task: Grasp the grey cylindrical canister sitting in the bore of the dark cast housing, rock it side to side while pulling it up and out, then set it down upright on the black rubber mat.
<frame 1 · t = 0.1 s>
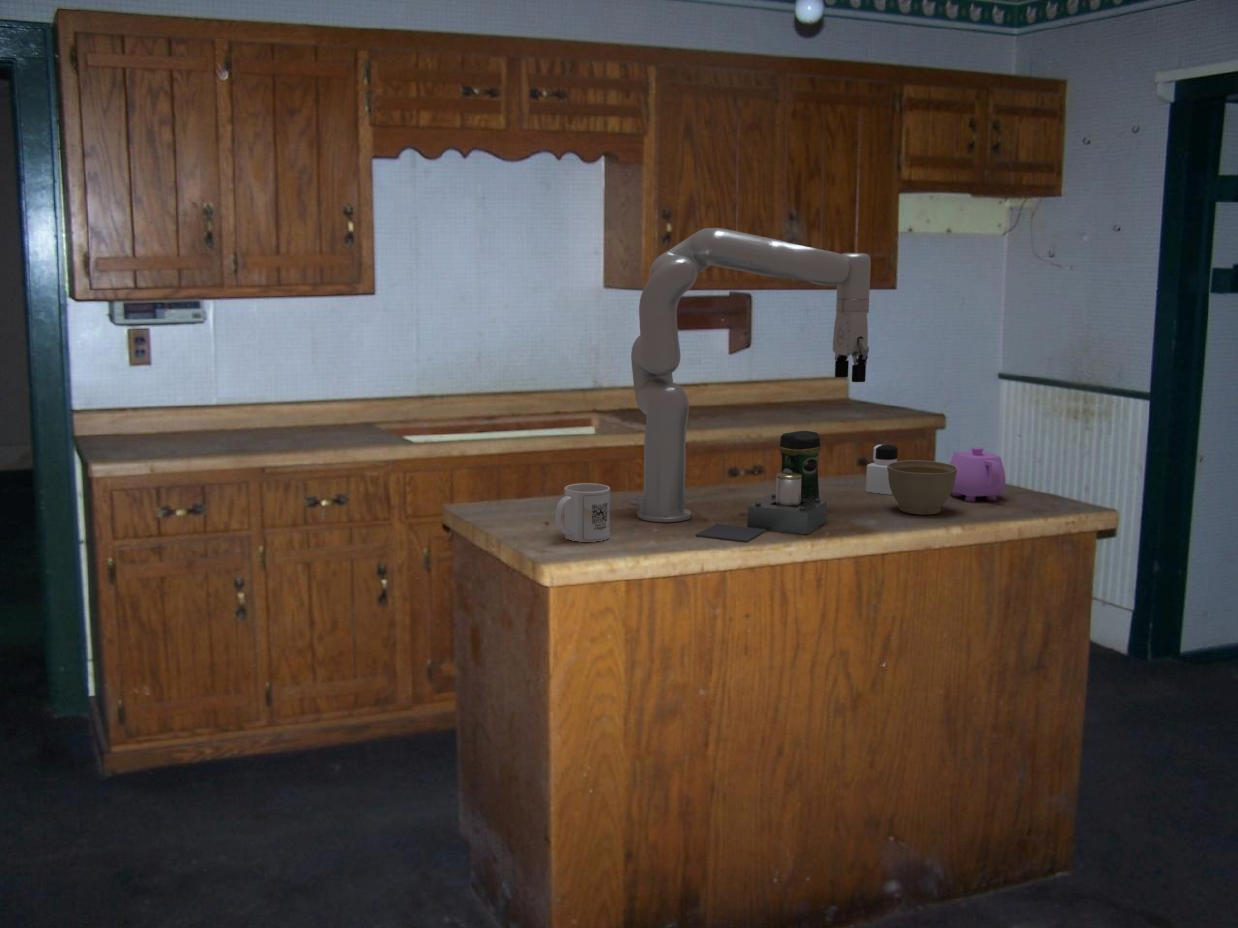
hand: (849, 379, 302), 31 cm above the worktop, tool pointing down, fingers open, 9 cm apart
coffee jar: (798, 508, 309), on the worktop
planter bowl: (919, 512, 306), on the worktop
mug: (582, 538, 277), on the worktop
grey cylindrical canister: (787, 524, 291), resting in housing
housing: (787, 524, 291), on the worktop
rubber mat: (731, 533, 282), on the worktop
teapot: (974, 497, 323), on the worktop
medicine bottle: (883, 492, 329), on the worktop
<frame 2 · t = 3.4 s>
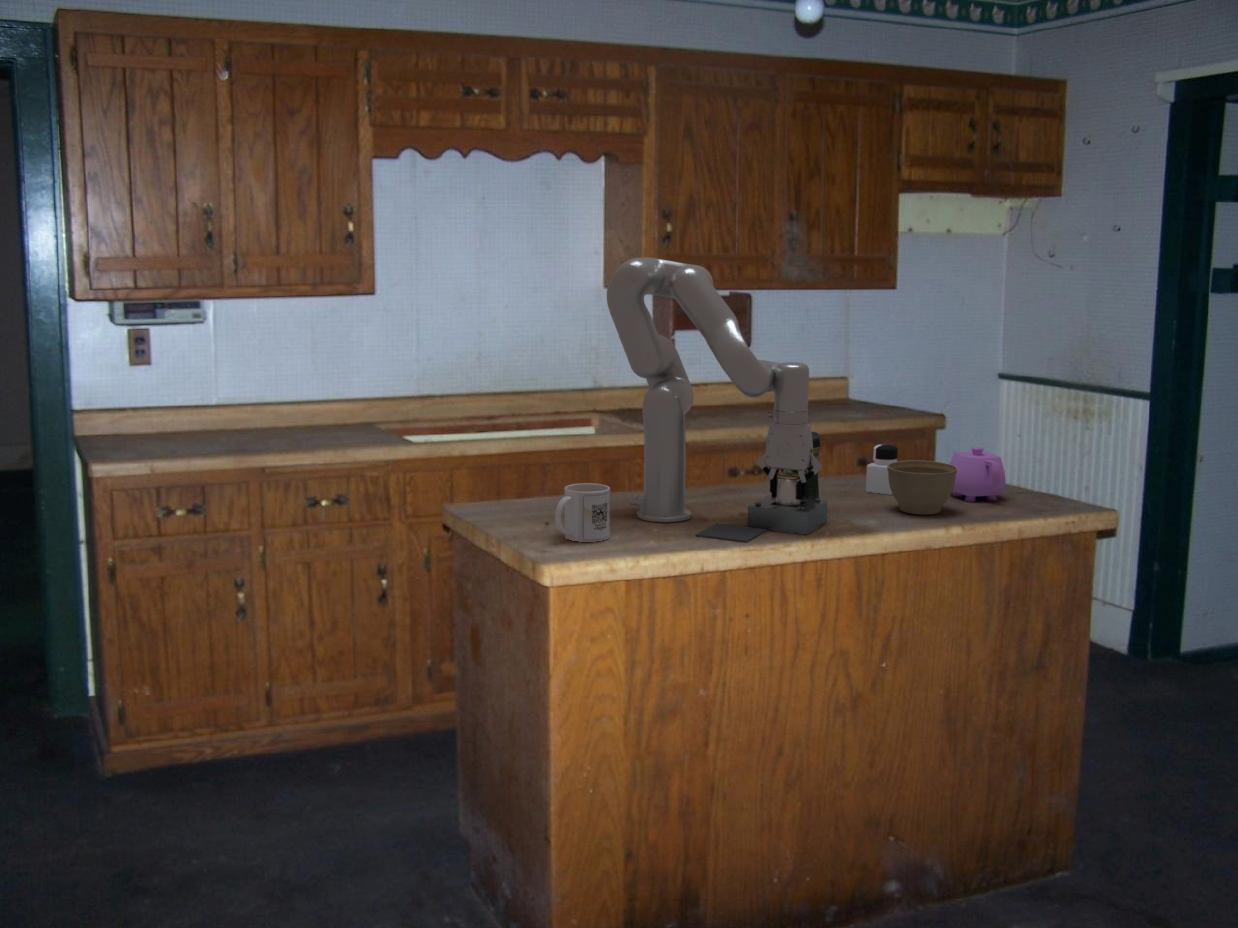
hand: (788, 496, 290), 7 cm above the worktop, tool pointing down, fingers closed on grey cylindrical canister, 5 cm apart
grey cylindrical canister: (787, 524, 291), resting in housing, touching gripper
everything else where it was.
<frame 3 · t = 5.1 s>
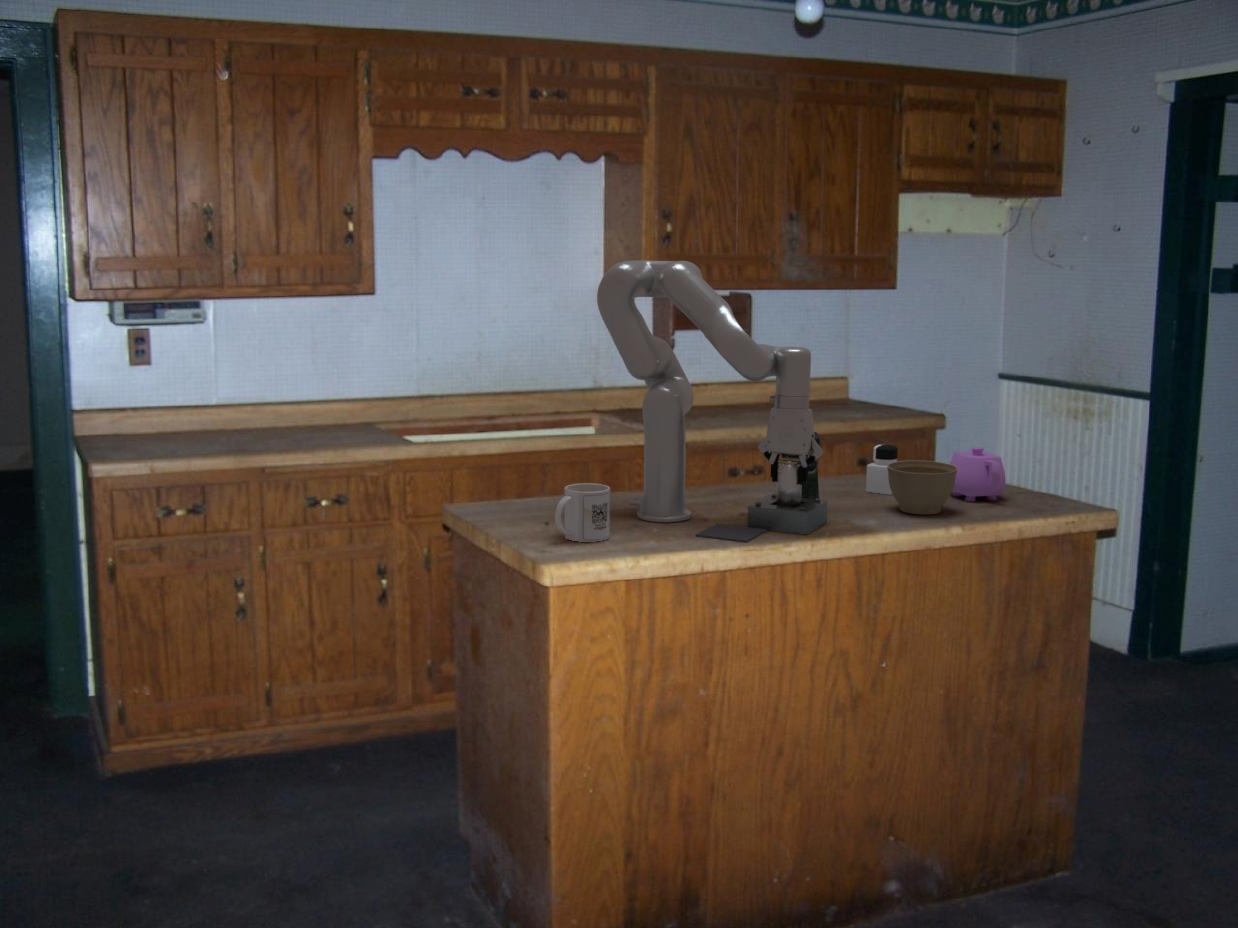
hand: (789, 481, 289), 10 cm above the worktop, tool pointing down, fingers closed on grey cylindrical canister, 5 cm apart
grey cylindrical canister: (788, 510, 290), point 3 cm above the worktop, touching gripper
everything else where it was.
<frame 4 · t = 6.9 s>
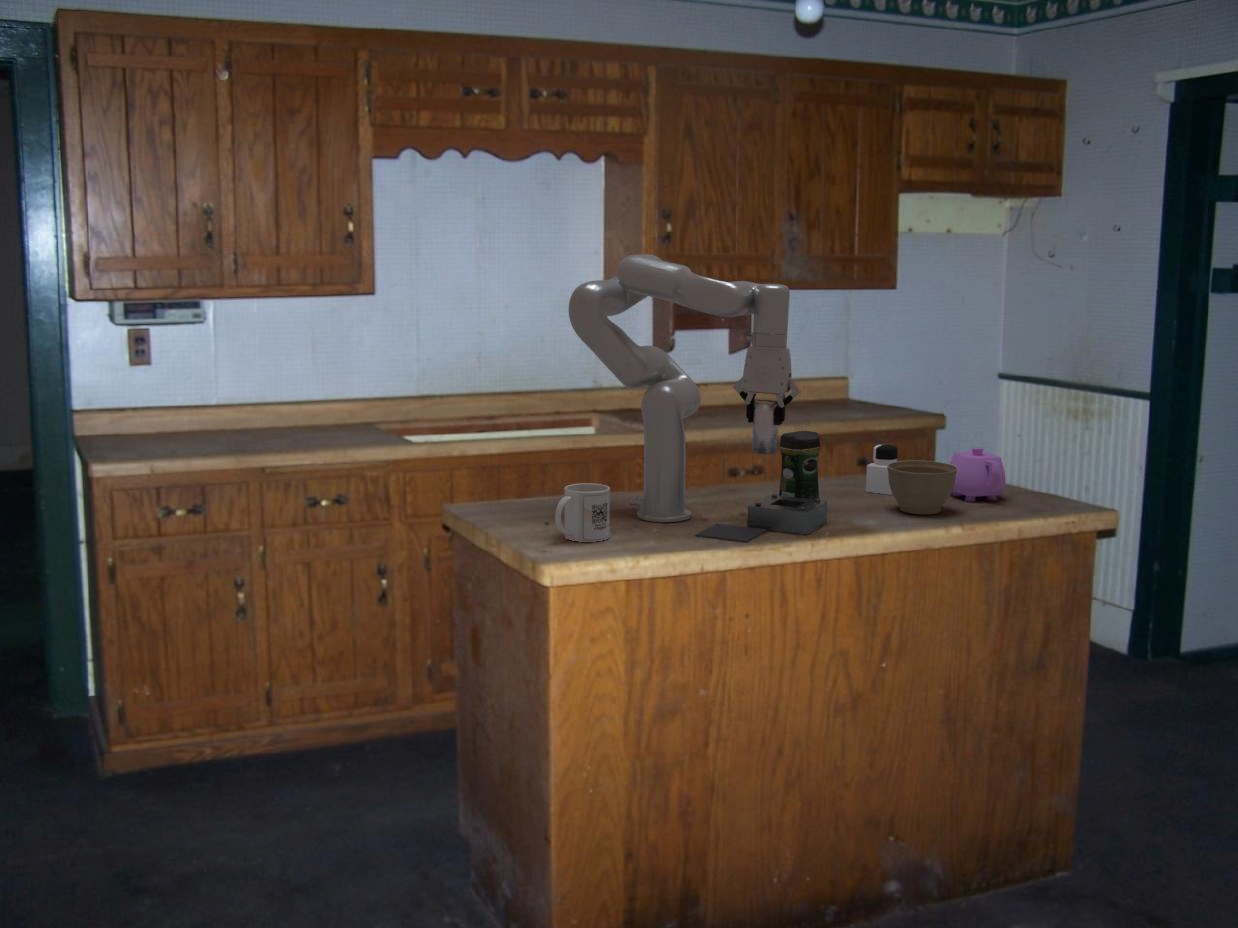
hand: (765, 422, 283), 24 cm above the worktop, tool pointing down, fingers closed on grey cylindrical canister, 5 cm apart
grey cylindrical canister: (764, 451, 284), point 17 cm above the worktop, touching gripper
everything else where it was.
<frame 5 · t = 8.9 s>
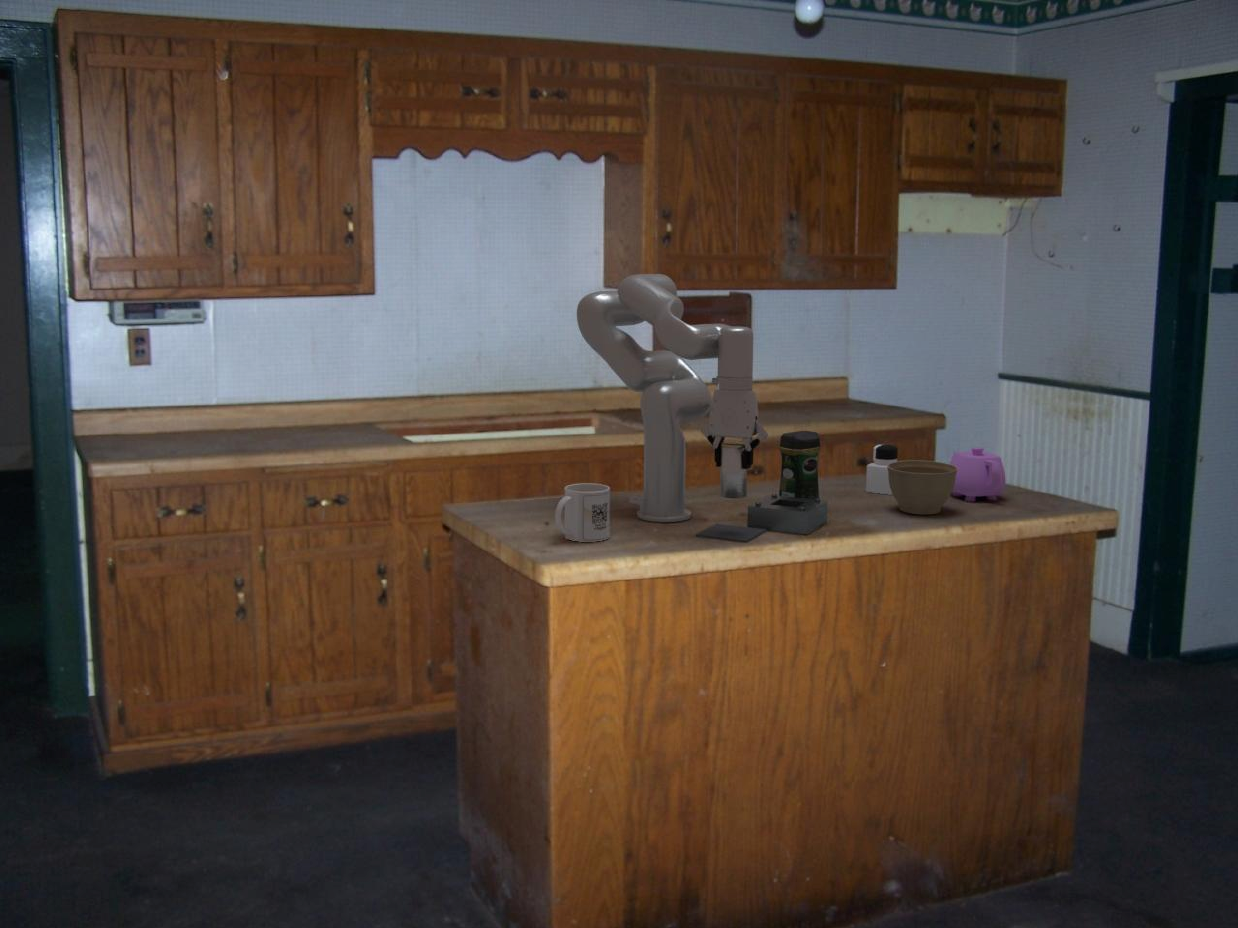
hand: (733, 466, 279), 15 cm above the worktop, tool pointing down, fingers closed on grey cylindrical canister, 5 cm apart
grey cylindrical canister: (733, 495, 280), point 9 cm above the worktop, touching gripper
everything else where it was.
when the fingers open (8 cm above the worktop, at t = 10.5 s): grey cylindrical canister stays where it is, resting on rubber mat.
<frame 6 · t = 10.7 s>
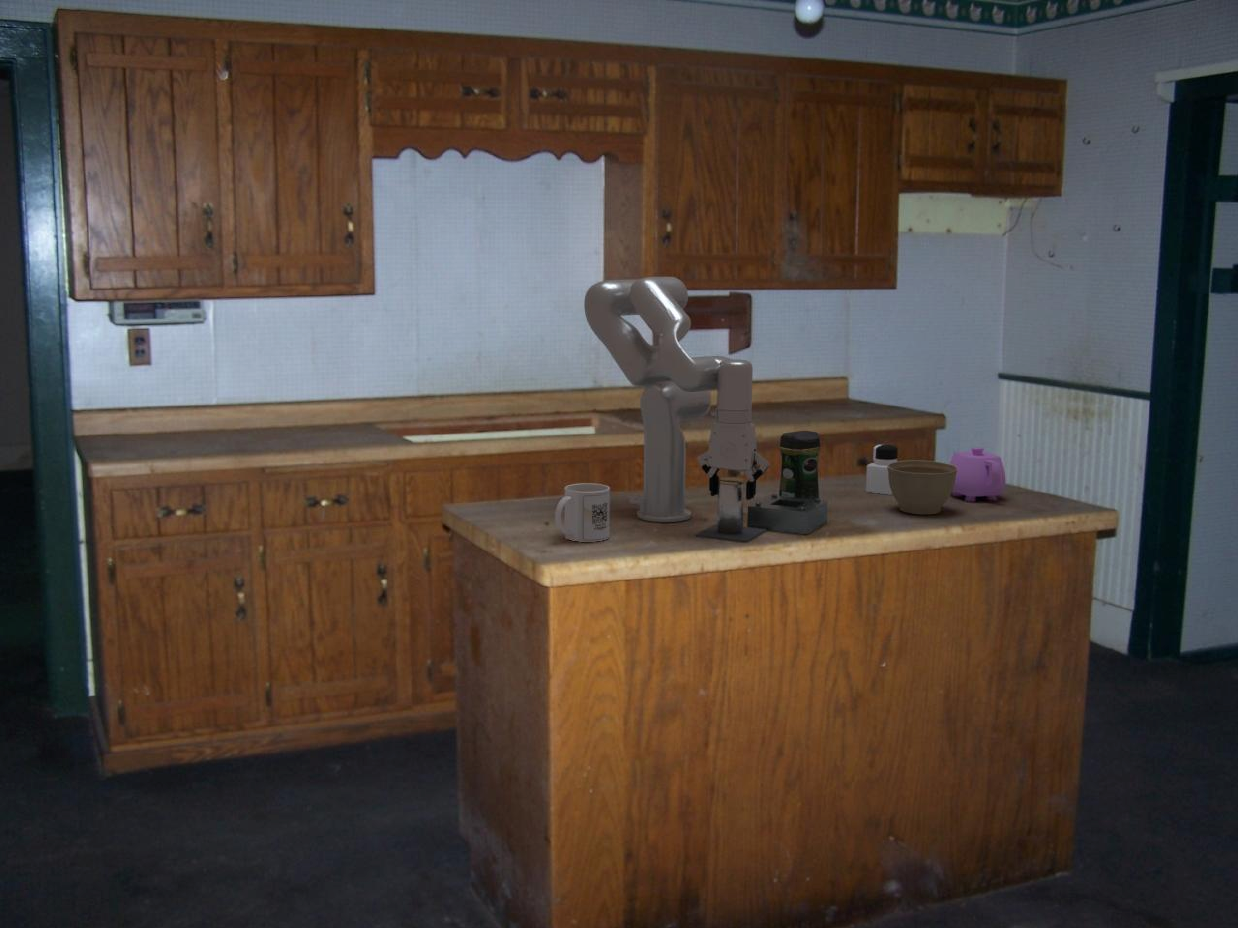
hand: (732, 496, 280), 8 cm above the worktop, tool pointing down, fingers open, 7 cm apart
grey cylindrical canister: (729, 531, 282), resting on rubber mat
everything else where it was.
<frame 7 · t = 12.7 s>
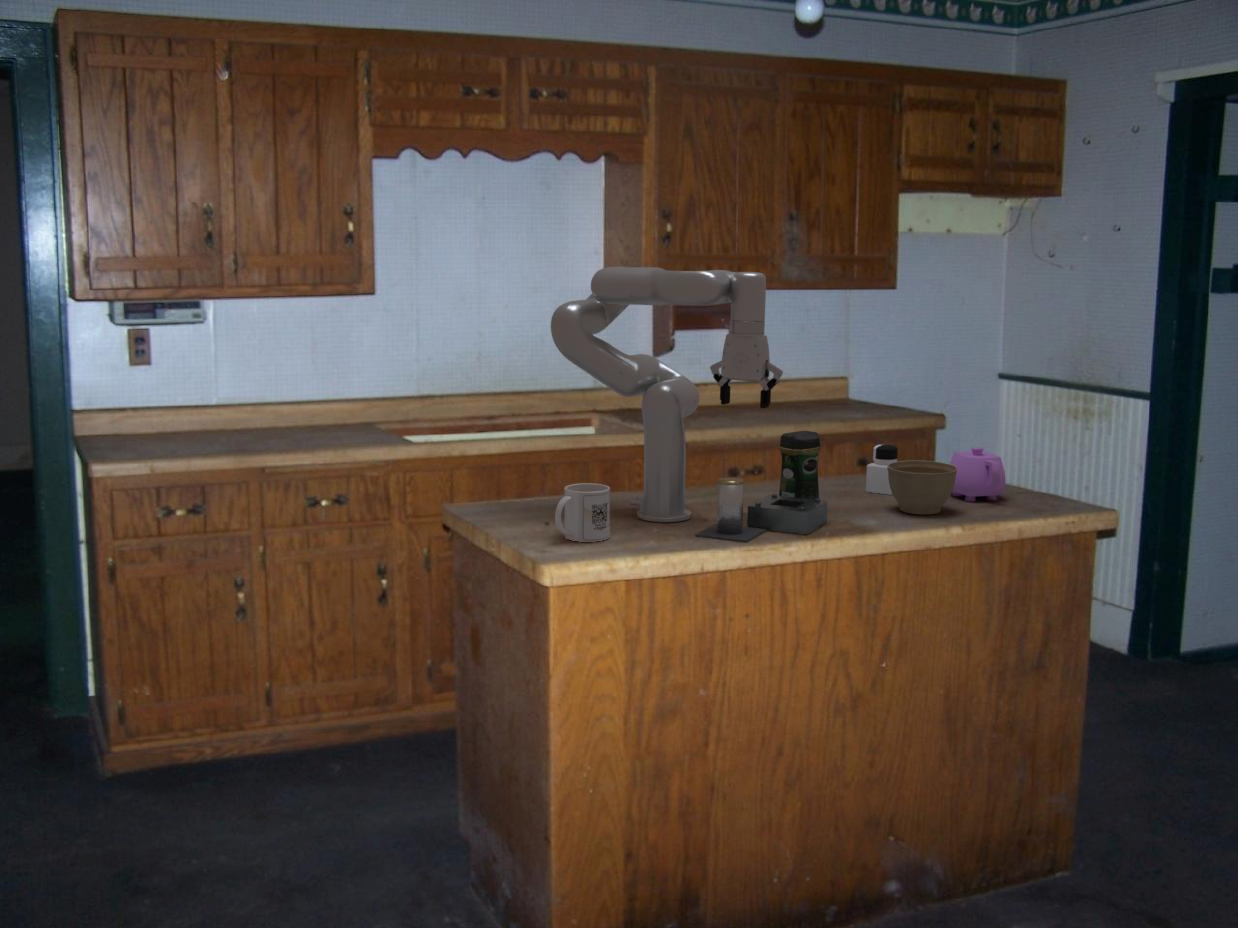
hand: (744, 405, 285), 27 cm above the worktop, tool pointing down, fingers open, 9 cm apart
nothing on the worktop moved.
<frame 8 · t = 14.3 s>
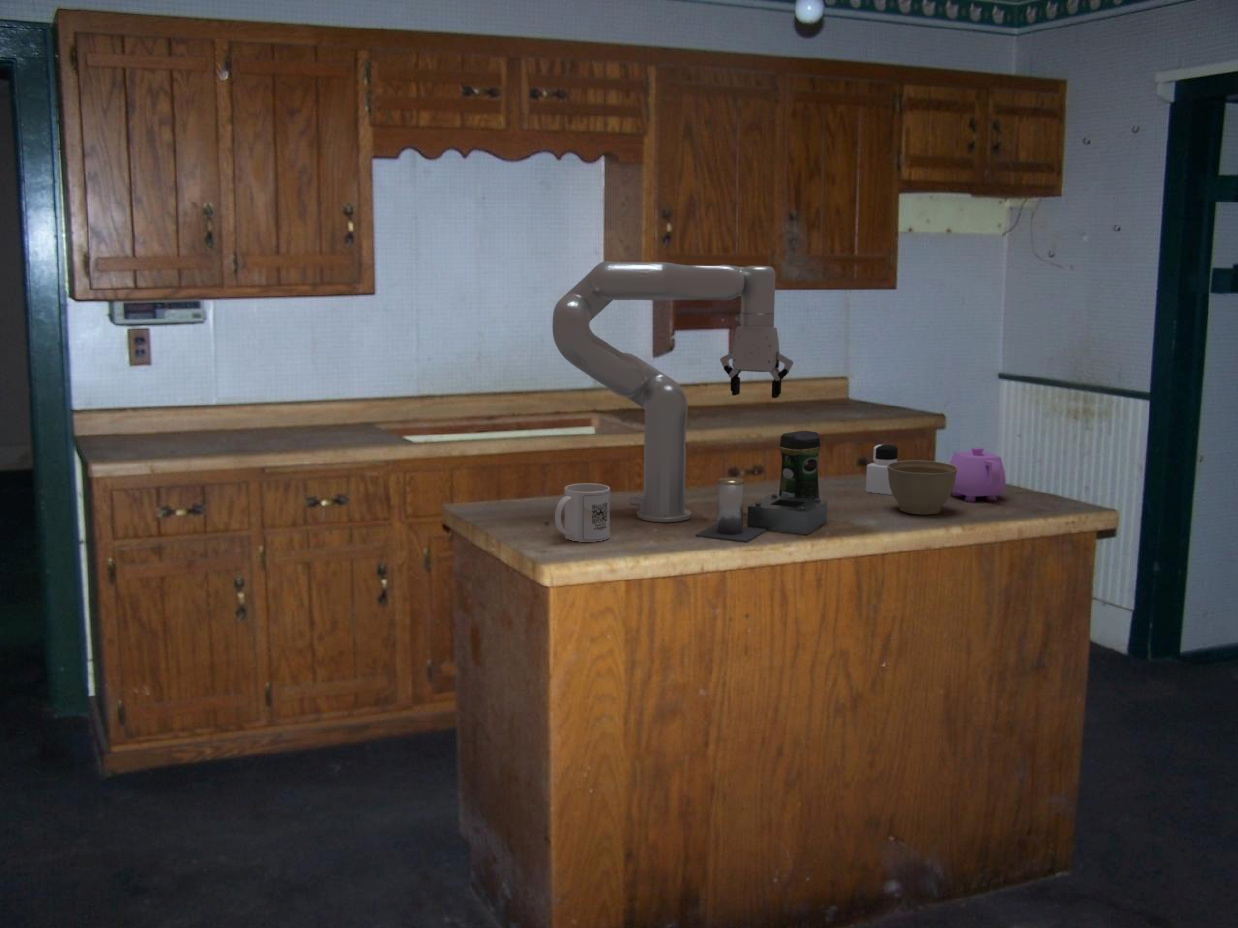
hand: (755, 396, 294), 28 cm above the worktop, tool pointing down, fingers open, 9 cm apart
nothing on the worktop moved.
at the end: grey cylindrical canister inside the target area on the rubber mat (0.4 cm from its centre), point 0.4 cm above the rubber mat's base; grey cylindrical canister tilted 0°; grey cylindrical canister touching rubber mat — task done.
